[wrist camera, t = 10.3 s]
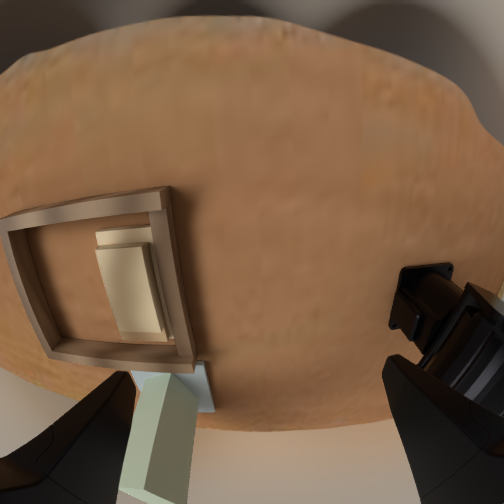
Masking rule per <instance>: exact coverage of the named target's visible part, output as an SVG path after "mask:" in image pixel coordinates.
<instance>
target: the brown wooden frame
mask: <svg viewBox="0 0 504 504" xmlns="http://www.w3.org/2000/svg"><path fill="white" fill-rule="evenodd" d="M138 212H149V219H150V226H151V232H152V238H153V244H154V250H155V255H156V261H157V266H158V271H159V276H160V281H161V286H162V290H163V295H164V299H165V304H166V308H167V312H168V317H169V321H170V325H171V329H172V333H173V336H174V340H175V344H176V346H173V345H142V344H124V343H110V342H99V341H88V340H79V339H70V338H62V336H61V334H60V332H59V330H58V328H57V325H56V323H55V321H54V318H53V316H52V313H51V311H50V309H49V306H48V303H47V301H46V298H45V295H44V293H43V290H42V287H41V284H40V281H39V278H38V275H37V272H36V269H35V266H34V262H33V259H32V255H31V252H30V248H29V244H28V240H27V236H26V232H25V228H30V227H36V226H42V225H48V224H54V223H61V222H67V221H74V220H81V219H89V218H96V217H104V216H112V215H120V214H129V213H138ZM0 235H1V239H2V243H3V247H4V250H5V254H6V257H7V261H8V264H9V267H10V270H11V273H12V276H13V279H14V282H15V285H16V288H17V291H18V293H19V296H20V298H21V301H22V303H23V306H24V308H25V311H26V313H27V315H28V318H29V320H30V322H31V324H32V327H33V329H34V331H35V333H36V335H37V337H38V339H39V341H40V343H41V345H42V347H43V349H44V351H45V353H46V355H47V356H48V358H50V359H55V360H60V361H65V362H71V363H77V364H83V365H90V366H97V367H104V368H112V369H121V370H132V371H144V372H158V373H180V374H194V372H195V367H196V361H197V356H198V355H197V350H196V346H195V341H194V336H193V332H192V327H191V322H190V317H189V312H188V307H187V302H186V296H185V291H184V285H183V279H182V274H181V267H180V261H179V255H178V248H177V241H176V234H175V227H174V219H173V211H172V203H171V194H170V186H163V187H154V188H146V189H138V190H131V191H124V192H117V193H110V194H104V195H98V196H92V197H86V198H80V199H75V200H70V201H64V202H59V203H54V204H50V205H45V206H40V207H36V208H31V209H27V210H23V211H19V212H15V213H12V214H10V215H8V216H5V217H3V218H1V219H0Z"/></svg>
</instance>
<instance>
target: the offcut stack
mask: <svg viewBox="0 0 504 504" xmlns="http://www.w3.org/2000/svg"><path fill="white" fill-rule="evenodd" d="M95 233H96V237H97V242H98V247H97V248H96V249H95V252H96V257H97V261H98V265H99V268H100V272H101V276H102V279H103V283H104V286H105V290H106V293H107V296H108V300H109V303H110V306H111V309H112V312H113V315H114V318H115V321H116V324H117V327H118V329H119V332H120V335H121V338H122V340H134V341H160V342H168V340H169V339H174V336H173V333H172V329H171V325H170V321H169V317H168V312H167V308H166V304H165V299H164V295H163V290H162V286H161V281H160V276H159V271H158V266H157V261H156V255H155V250H154V244H153V238H152V232H151V226H150V224H147V225H136V226H125V227H115V228H106V229H99V230H98V231H96V232H95Z"/></svg>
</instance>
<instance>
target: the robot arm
mask: <svg viewBox="0 0 504 504" xmlns="http://www.w3.org/2000/svg"><path fill="white" fill-rule="evenodd" d="M448 268H449V269H448ZM405 272H406V274H405ZM452 272H453V265H452V264H451V263H440V264H430V265H420V266H410V267H404V268H402V269H401V271H400V274H399V280H398V285H397V290H396V293H395V296H394V301H393V305H392V310H391V314H390V315H391V316H390V320H389V325H388V326H389V327H390V329H391V330H395V329H401V330H402V332H403V333H404V334H405V336H406V337H407V339H408V340H409V341H413V342H414V343H415V345H416V346H417V347H418V349H419V350H420V352H421V353H422V354H423V355H424V356H423V357H422V359H421V360H420V361H419V363H418V364H416V365H415V364H414V363H412V362H410V361H409V360H407V359H406V358H404V357H403V356H401V355H399V354H395V355H391V356H388V357H387V359H386V362H385V365H384V368H383V371H382V379H383V382H384V386H385V390H386V394H387V398H388V402H389V406H390V409H391V413H392V416H393V418H394V421H395V423H396V426H397V429H398V432H399V434H400V438H401V440H402V443H403V446H404V449H405V452H406V455H407V458H408V461H409V464H410V467H411V470H412V473H413V477H414V480H415V483H416V487H417V490H418V493H419V497H420V501H421V504H504V301H502V300H501V299H500V298H498V297H497V296H496V295H494V294H493V293H492V292H490V291H487V290H485V289H483V288H481V287H479V286H476V285H474V284H472V283H470V282H467V284H466V286H465V287H464V288H465V290H464V291H463V290H462V289H460V288H459V287H458V286H457V285H456V284H454V283H453V282H452V281H451V276H452ZM404 274H405V275H404ZM393 324H394V325H393ZM135 397H136V387H135V384H134V382H133V380H132V378H131V376H130V374H129V373H128V372H127V371H116V372H115V373H114V374H112V375H111V376H110V377H109V378H107V379H106V380H105V381H104V382H103V383H101V384H100V385H99V386H98V387H97V388H95V389H94V390H93V391H92V392H91V393H89V394H88V395H87V396H86V397H85V398H83V399H82V400H81V401H80V402H78V403H77V404H76V405H75V406H74V407H72V408H71V409H70V410H69V411H68V412H66V413H65V414H64V415H63V416H61V417H60V418H59V419H58V420H57V421H55V422H54V423H53V424H52V425H50V426H49V427H48V428H47V429H46V430H44V431H43V432H42V433H41V434H39V435H38V436H36V437H35V438H33V439H32V440H31V441H29V442H28V443H26V444H25V445H23V446H21V447H20V448H18V449H17V450H15V451H14V452H12V453H10V454H9V455H7V456H5V457H2V458H0V504H116V500H117V494H118V488H119V483H120V478H121V473H122V468H123V463H124V458H125V454H126V449H127V445H128V440H129V436H130V432H131V427H132V420H133V411H134V404H135Z"/></svg>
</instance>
